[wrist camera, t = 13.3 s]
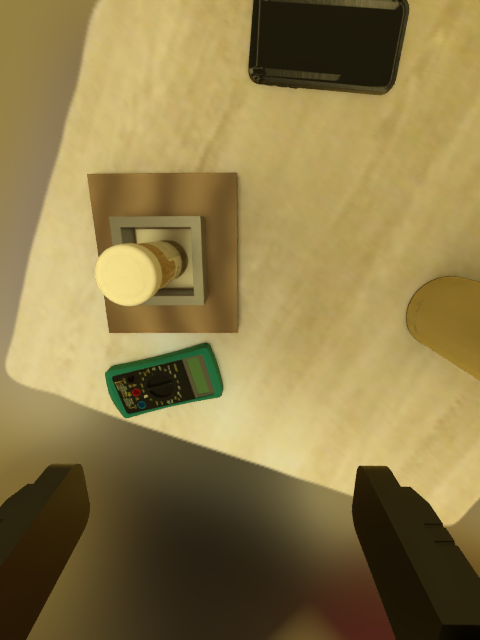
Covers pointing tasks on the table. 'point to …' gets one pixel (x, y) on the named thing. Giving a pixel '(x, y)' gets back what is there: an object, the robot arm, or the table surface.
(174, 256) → the sprinkles bottle
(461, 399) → the table surface
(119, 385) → the digital multimeter
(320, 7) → the phone
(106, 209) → the socket board
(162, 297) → the socket sleeve
